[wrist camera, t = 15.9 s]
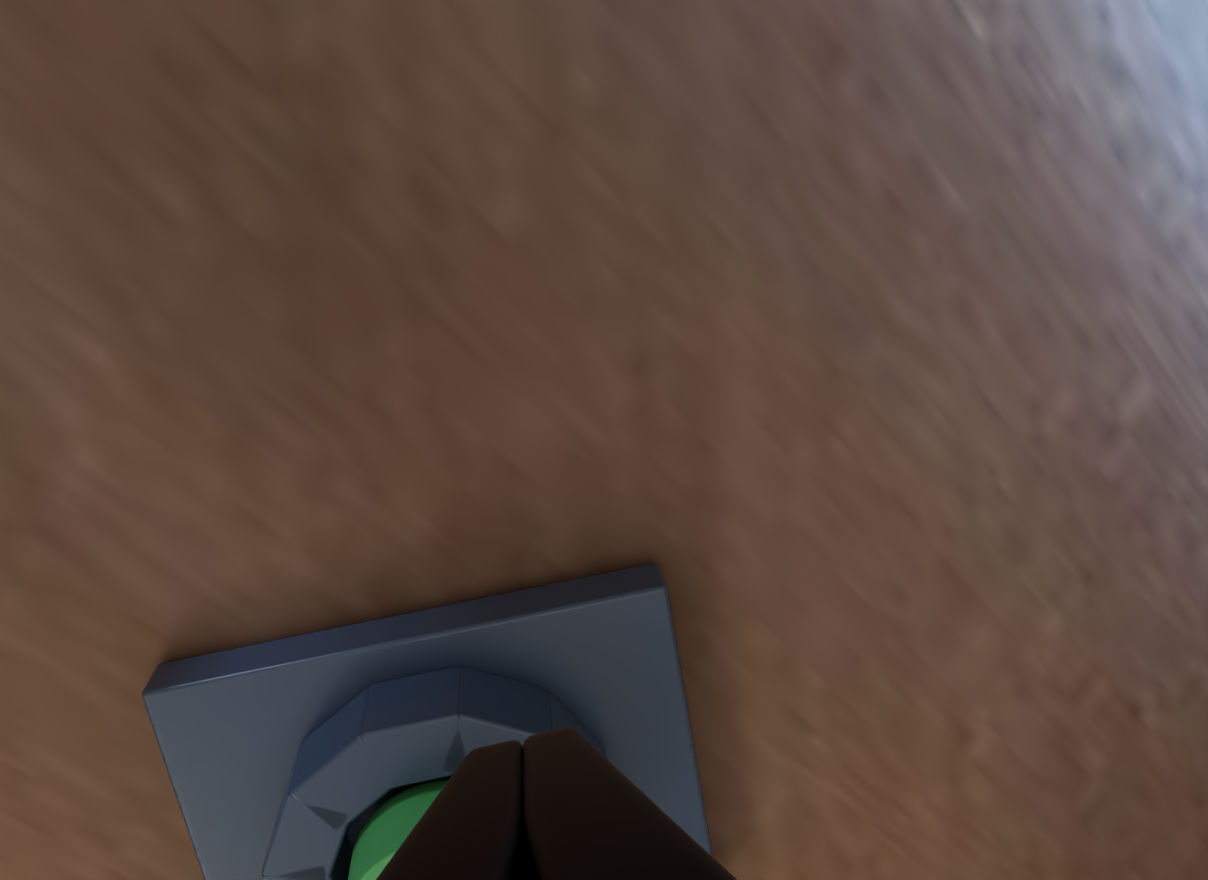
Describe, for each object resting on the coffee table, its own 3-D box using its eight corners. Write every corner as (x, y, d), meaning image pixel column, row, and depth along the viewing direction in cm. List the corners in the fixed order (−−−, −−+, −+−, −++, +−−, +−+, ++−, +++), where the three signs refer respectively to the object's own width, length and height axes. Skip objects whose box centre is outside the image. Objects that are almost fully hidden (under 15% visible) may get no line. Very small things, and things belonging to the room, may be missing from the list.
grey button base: (657, 560, 22) (683, 628, 20) (713, 886, 25) (744, 989, 22) (156, 662, 22) (109, 747, 19) (264, 985, 24) (236, 1103, 21)
